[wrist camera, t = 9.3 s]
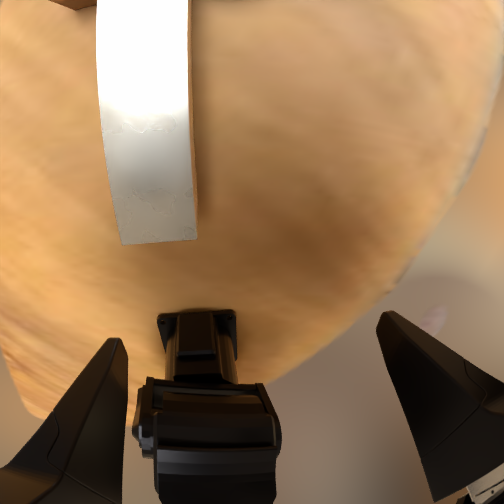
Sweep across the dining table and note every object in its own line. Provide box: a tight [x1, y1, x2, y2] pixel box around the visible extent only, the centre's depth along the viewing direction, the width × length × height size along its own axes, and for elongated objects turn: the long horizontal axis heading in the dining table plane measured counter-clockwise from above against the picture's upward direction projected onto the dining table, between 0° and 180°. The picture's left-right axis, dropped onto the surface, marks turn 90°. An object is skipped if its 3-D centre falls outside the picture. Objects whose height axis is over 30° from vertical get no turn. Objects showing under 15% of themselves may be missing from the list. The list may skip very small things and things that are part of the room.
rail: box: [96, 0, 198, 245], centre depth 13 cm, size 16×4×5 cm, turn 0°
